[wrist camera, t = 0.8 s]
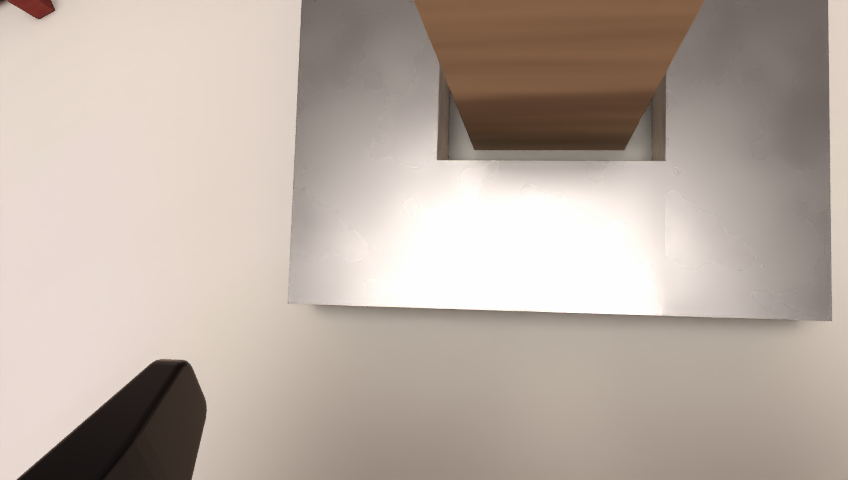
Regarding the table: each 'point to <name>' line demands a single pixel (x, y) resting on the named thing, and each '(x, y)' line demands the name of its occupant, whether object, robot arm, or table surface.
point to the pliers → (34, 7)
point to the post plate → (567, 180)
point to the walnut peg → (554, 66)
